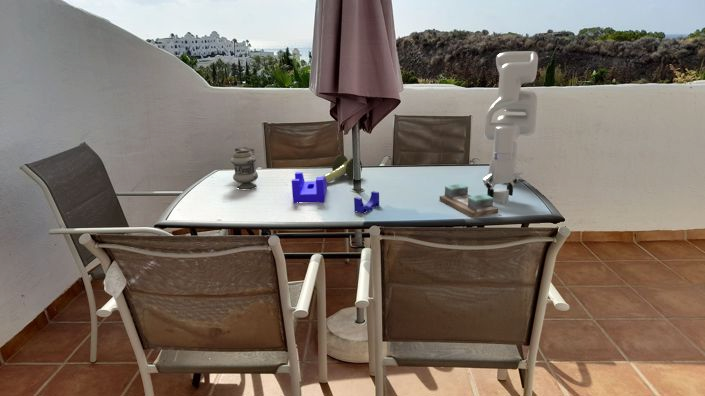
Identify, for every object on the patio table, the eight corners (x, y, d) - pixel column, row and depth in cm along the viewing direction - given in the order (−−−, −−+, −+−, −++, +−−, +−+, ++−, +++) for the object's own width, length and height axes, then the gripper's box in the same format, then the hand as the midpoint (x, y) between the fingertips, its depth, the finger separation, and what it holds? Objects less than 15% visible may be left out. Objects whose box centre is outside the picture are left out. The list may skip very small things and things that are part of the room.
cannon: (329, 187, 226) (327, 164, 222) (313, 183, 234) (311, 161, 230) (364, 177, 242) (364, 155, 239) (348, 173, 250) (347, 152, 247)
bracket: (324, 202, 204) (323, 179, 201) (293, 203, 204) (291, 180, 201) (326, 189, 224) (325, 168, 221) (298, 190, 224) (297, 169, 221)
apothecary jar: (233, 185, 235) (229, 150, 229) (257, 182, 238) (253, 148, 233) (235, 192, 224) (231, 155, 218) (260, 189, 227) (256, 152, 222)
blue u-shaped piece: (362, 214, 188) (362, 200, 186) (354, 211, 191) (354, 197, 189) (382, 206, 196) (381, 192, 194) (374, 204, 199) (373, 191, 197)
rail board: (463, 196, 204) (463, 182, 202) (498, 213, 183) (499, 197, 181) (439, 200, 200) (439, 186, 198) (472, 217, 179) (472, 202, 177)
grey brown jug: (237, 178, 248) (234, 148, 243) (248, 175, 252) (245, 146, 247) (246, 181, 242) (243, 150, 237) (257, 178, 246) (254, 148, 241)
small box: (495, 198, 201) (496, 187, 199) (508, 200, 197) (509, 189, 196) (490, 202, 196) (491, 190, 195) (503, 204, 193) (504, 193, 192)
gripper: (513, 152, 197) (510, 191, 202) (479, 156, 191) (477, 196, 196) (526, 155, 190) (522, 196, 195) (490, 159, 184) (488, 201, 189)
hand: (499, 196), depth 196 cm, fingers open, 9 cm apart
